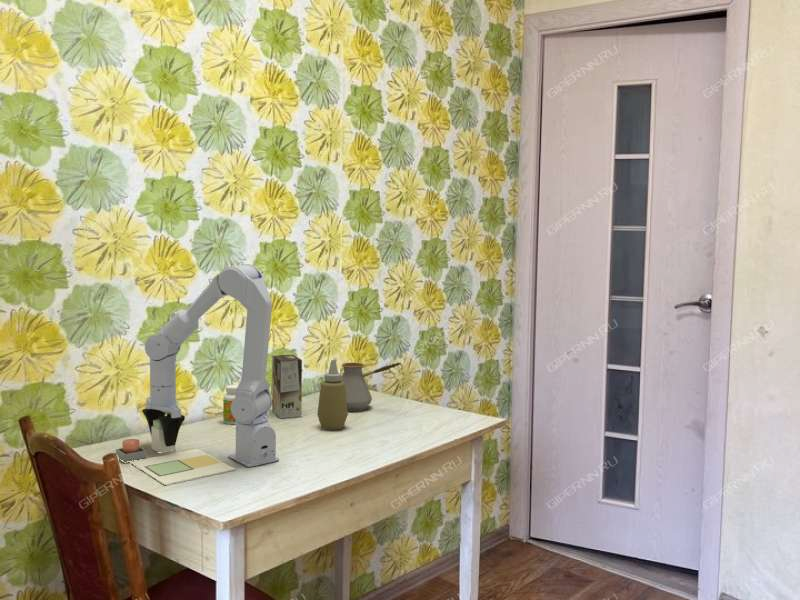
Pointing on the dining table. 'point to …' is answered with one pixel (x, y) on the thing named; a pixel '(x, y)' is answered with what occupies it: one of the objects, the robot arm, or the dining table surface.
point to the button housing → (131, 455)
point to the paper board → (182, 466)
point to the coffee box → (286, 386)
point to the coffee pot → (358, 385)
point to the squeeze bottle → (332, 400)
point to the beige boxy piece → (159, 438)
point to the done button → (131, 446)
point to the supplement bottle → (229, 404)
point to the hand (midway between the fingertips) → (163, 441)
